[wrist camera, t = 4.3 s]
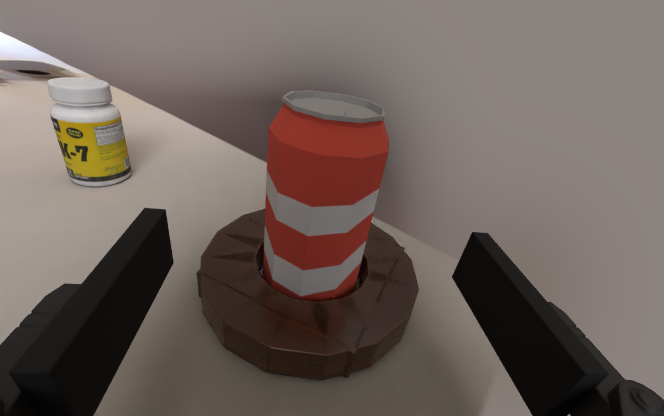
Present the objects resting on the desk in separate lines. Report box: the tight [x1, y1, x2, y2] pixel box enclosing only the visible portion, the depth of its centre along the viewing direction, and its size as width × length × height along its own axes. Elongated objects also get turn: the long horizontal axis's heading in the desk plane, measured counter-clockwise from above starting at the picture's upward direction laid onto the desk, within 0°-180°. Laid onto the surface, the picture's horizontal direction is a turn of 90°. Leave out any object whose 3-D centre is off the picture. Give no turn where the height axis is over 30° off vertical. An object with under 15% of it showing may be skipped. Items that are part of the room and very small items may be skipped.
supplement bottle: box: [47, 77, 131, 187], centre depth 27 cm, size 5×5×8 cm
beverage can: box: [263, 91, 389, 302], centre depth 18 cm, size 6×6×12 cm
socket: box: [197, 209, 419, 380], centre depth 21 cm, size 14×14×2 cm
